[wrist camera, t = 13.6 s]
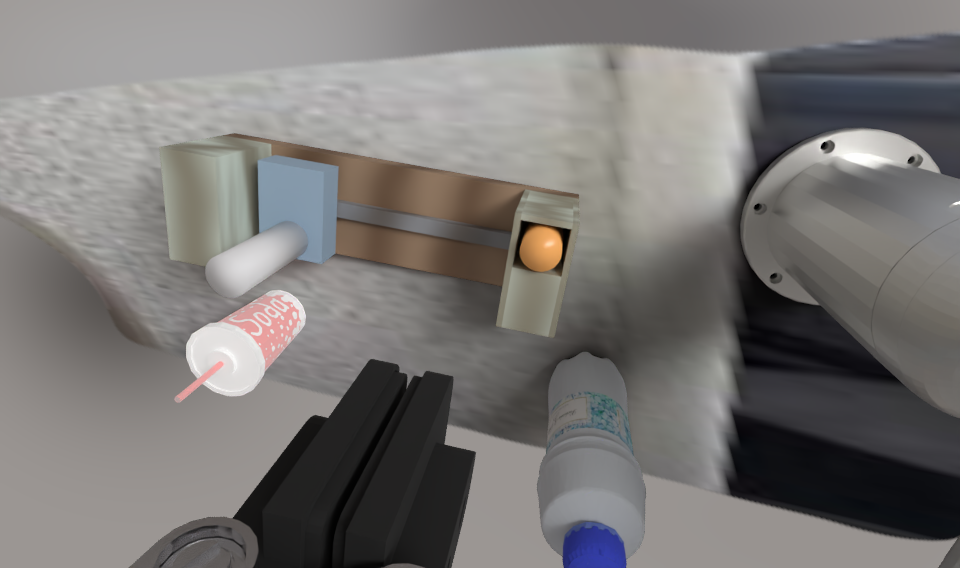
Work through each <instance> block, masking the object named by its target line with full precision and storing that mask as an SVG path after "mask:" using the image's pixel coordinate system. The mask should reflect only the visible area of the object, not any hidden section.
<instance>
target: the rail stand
mask: <svg viewBox="0 0 960 568" xmlns="http://www.w3.org/2000/svg"><path fill="white" fill-rule="evenodd" d="M159 150H160V160H161V171H162V181H163V192H164V202H165V213H166V224H167V234H168V245H169V255H170V259H171V260H176V261H181V262H186V263H190V264H195V265H200V266H205V267H206V265H207V263H208V261H209V260H210V259H211V258H213V257H215V256H217V255H219V254H221V253H222V252H224V251H226V250H228V249H230V248H232V247H234V246H236V245H238V244H240V243H242V242H244V241H246V240H248V239H250V238H252V237H253V236H255V235H257V234H259V197H258V160H260V159H263V158H267V157H270V156H274V155H279V156H284V157H290V158H295V159H301V160H306V161H312V162H317V163H323V164H329V165H334V166H339V167H338V194H337V221H336V248H335V253H336V254H341V255H346V256H351V257H356V258H361V259H366V260H371V261H376V262H381V263H386V264H391V265H396V266H401V267H407V268H412V269H417V270H422V271H427V272H432V273H437V274H442V275H447V276H452V277H457V278H462V279H467V280H472V281H477V282H482V283H488V284H493V285H498V286H502V292H501V298H500V304H499V309H498V315H497V321H496V326H497V327H502V328H507V329H512V330H517V331H522V332H527V333H532V334H536V335H541V336H546V337H551V338H554V336H555V332H556V327H557V323H558V318H559V314H560V309H561V305H562V301H563V296H564V292H565V287H566V283H567V278H568V274H569V269H570V265H571V261H572V256H573V252H574V247H575V243H576V238H577V234H578V229H579V225H580V219H579V195H578V194H573V193H567V192H561V191H556V190H550V189H545V188H539V187H533V186H528V185H522V184H516V183H511V182H505V181H500V180H494V179H488V178H483V177H477V176H471V175H466V174H460V173H455V172H449V171H443V170H438V169H432V168H426V167H421V166H415V165H410V164H404V163H398V162H393V161H387V160H381V159H376V158H370V157H365V156H359V155H353V154H348V153H342V152H337V151H331V150H325V149H320V148H314V147H308V146H303V145H297V144H292V143H286V142H280V141H275V140H269V139H263V138H258V137H252V136H247V135H241V134H235V133H234V134H229V135H223V136H218V137H212V138H207V139H201V140H196V141H191V142H185V143H180V144H174V145H169V146H163V147H159ZM529 222H535V223H540V224H546V225H551V226H556V227H562V229H563V244H562V256H561V259H560V261H559V263H558V264H557V265H556V266H555V267H554V268H552V269H551V270H548V271H544V272H538V271H534V270H531V269H530V268H528V267H527V266H526V265H525V264H524V263H523V261H522V260H521V257H520V246H521V243H522V239H523V236H524V233H525V230H526V227H527V225H528V223H529Z"/></svg>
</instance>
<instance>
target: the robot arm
mask: <svg viewBox="0 0 960 568" xmlns="http://www.w3.org/2000/svg"><path fill="white" fill-rule="evenodd" d="M823 142H825V143H826V145H825V147H824V148H823V149H820V147H821V145H822V143H823ZM910 157H911V160H910V161H909V162H908V159H909V158H910ZM758 203H759V204H760V206H759V208H757V209H754V206H755V205H756V204H758ZM740 232H741V243H742V247H743V251H744V255H745V257H746V259H747V261H748V263H749V265H750V267H751V268H752V269H753V271H754V272H755V273H756V274H757V276H758V277H759V278H760V279H761V280H762V281H763V282H764V283H765V284H766V285H767V286H768V287H769V288H771V289H772V290H774V291H776V292H777V293H779V294H780V295H782V296H784V297H787V298H789V299H792V300H794V301H797V302H801V303H807V304H812V305H821V306H822V307H823V308H824V309H825V310H826V311H827V312H828V313H829V314H830V315H831V316H832V317H833V318H834V319H835V320H836V321H837V322H839V323H840V324H841V325H842V326H843V327H844V328H845V329H846V330H847V331H848V332H849V333H850V334H851V335H852V336H853V337H854V338H855V339H856V340H857V341H858V342H859V343H860V344H861V345H862V346H863V347H865V348H866V349H867V350H868V351H869V352H870V353H871V354H872V355H873V356H874V357H875V358H876V359H877V360H878V361H879V362H880V363H881V364H882V365H883V366H885V367H886V368H887V369H888V370H889V371H890V372H891V373H892V374H893V375H894V376H895V377H897V378H898V379H899V380H900V381H901V382H902V383H903V384H904V385H905V386H906V387H907V388H908V389H910V390H911V391H912V392H913V393H914V394H916V395H917V396H918V397H920V398H921V399H922V400H924V401H925V402H927V403H928V404H930V405H932V406H934V407H935V408H937V409H939V410H941V411H943V412H945V413H947V414H950V415H952V416H954V417H957V418H960V179H957V178H954V177H950V176H946V175H943V174H941V173H940V170H939V168H938V167H937V165H936V164H935V162H934V161H933V160H932V158H931V157H930V155H929V154H928V153H927V152H925V151H924V150H923V149H922V148H921V147H919V146H918V145H917V144H916V143H914V142H912V141H910V140H908V139H906V138H904V137H902V136H900V135H898V134H894V133H890V132H886V131H882V130H877V129H870V128H844V129H839V130H834V131H829V132H824V133H822V134H819V135H816V136H814V137H811V138H808V139H806V140H804V141H802V142H800V143H799V144H797V145H795V146H793V147H792V148H790V149H788V150H787V151H786V152H784V153H783V154H782V155H781V156H779V157H778V158H777V159H776V160H774V161H773V162H772V163H771V164H770V165H769V166H768V168H767V169H766V170H765V171H764V172H763V173H762V174H761V175H760V177H759V178H758V180H757V181H756V183H755V184H754V186H753V188H752V189H751V191H750V193H749V195H748V198H747V200H746V203H745V205H744V208H743V213H742V218H741V223H740ZM773 273H775V275H774V276H773V277H770V276H771V275H772V274H773ZM406 387H407V374H404V373H400V372H399V366H398V365H397V364H393V363H388V362H383V361H379V360H374V359H370V360H369V361H368V363H367V364H366V366H365V367H364V368H363V370H362V371H361V373H360V374H359V375H358V377H357V378H356V380H355V381H354V382H353V384H352V385H351V387H350V388H349V390H348V391H347V392H346V394H345V395H344V397H343V398H342V399H341V401H340V402H339V404H338V405H337V406H336V408H335V409H334V411H333V412H332V413H331V415H330V416H329V418H326V417H321V416H317V415H314V416H312V417H310V419H309V420H308V421H307V422H306V423H305V424H304V425H303V427H302V428H301V429H300V431H299V432H298V433H297V435H296V436H295V437H294V439H293V440H292V441H291V442H290V444H289V445H288V446H287V448H286V449H285V450H284V452H283V453H282V454H281V456H280V457H279V458H278V460H277V461H276V462H275V463H274V465H273V466H272V467H271V469H270V470H269V471H268V473H267V474H266V475H265V476H264V478H263V479H262V480H261V482H260V483H259V485H258V486H257V487H256V488H255V490H254V491H253V492H252V494H251V495H250V496H249V497H248V499H247V500H246V501H245V503H244V504H243V505H242V507H241V508H240V509H239V510H238V512H237V513H236V514H235V516H234V517H233V518H232V519H231V518H227V517H207V518H203V519H199V520H195V521H191V522H189V523H187V524H184V525H182V526H180V527H178V528H176V529H174V530H173V531H171V532H170V533H169V534H167V535H166V536H164V537H163V538H162V539H160V540H159V541H158V542H157V543H155V544H154V545H153V546H152V547H151V548H150V549H149V550H148V551H147V552H146V553H144V554H143V555H142V556H141V557H140V558H139V559H138V560H137V561H136V562H135V563H134V564H132V565H131V566H130V567H129V568H451V567H452V563H453V559H454V555H455V551H456V546H457V542H458V538H459V534H460V530H461V526H462V522H463V518H464V513H465V509H466V504H467V499H468V494H469V489H470V483H471V478H472V473H473V467H474V461H475V454H476V452H474V451H470V450H466V449H461V448H456V447H452V446H448V445H444V443H445V436H446V429H447V422H448V416H449V409H450V402H451V395H452V388H453V376H448V375H444V374H439V373H434V372H430V371H426V372H425V373H424V375H423V377H418V376H414V377H413V378H412V380H411V382H410V384H409V386H408V388H407V389H406ZM939 568H960V536H959V537H958V539H957V540H956V542H955V543H954V545H953V546H952V547H951V549H950V550H949V552H948V553H947V555H946V556H945V558H944V560H943V561H942V563H941V565H940V566H939Z"/></svg>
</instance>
